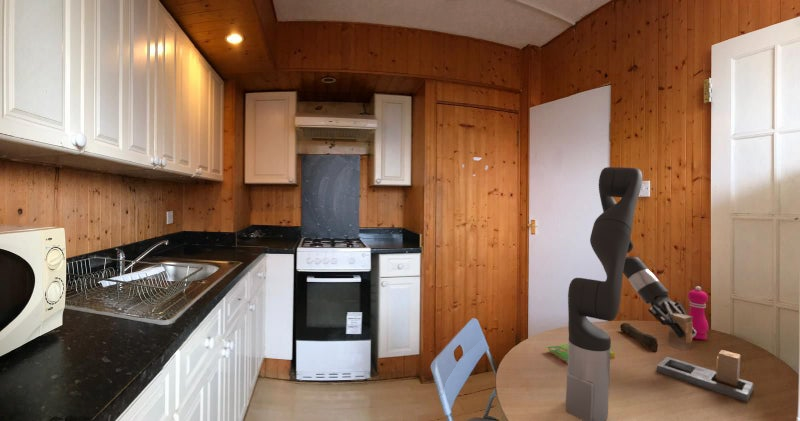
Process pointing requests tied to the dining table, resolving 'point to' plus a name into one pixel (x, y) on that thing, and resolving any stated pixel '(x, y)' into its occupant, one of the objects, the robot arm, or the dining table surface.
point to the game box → (566, 352)
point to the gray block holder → (712, 375)
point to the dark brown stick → (640, 336)
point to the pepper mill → (698, 312)
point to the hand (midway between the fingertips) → (687, 335)
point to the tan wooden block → (687, 326)
